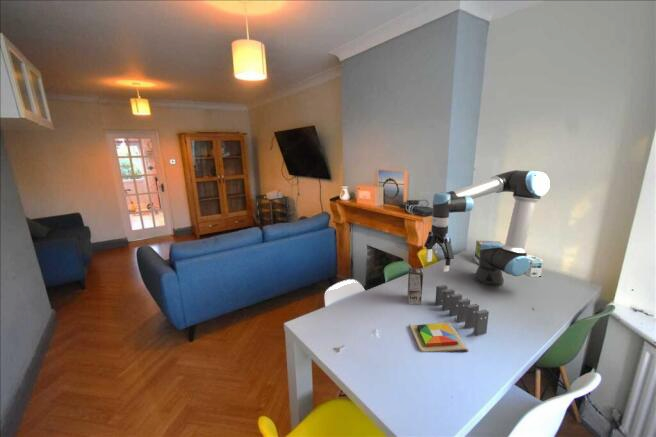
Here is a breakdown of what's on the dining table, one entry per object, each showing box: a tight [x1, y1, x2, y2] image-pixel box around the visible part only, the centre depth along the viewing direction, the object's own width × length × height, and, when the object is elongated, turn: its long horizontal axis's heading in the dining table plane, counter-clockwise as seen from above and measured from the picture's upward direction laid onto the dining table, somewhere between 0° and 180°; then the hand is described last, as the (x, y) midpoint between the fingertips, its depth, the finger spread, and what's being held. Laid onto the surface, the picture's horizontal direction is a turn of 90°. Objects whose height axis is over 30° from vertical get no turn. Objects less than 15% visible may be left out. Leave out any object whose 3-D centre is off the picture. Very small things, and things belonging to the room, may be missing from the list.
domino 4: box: [456, 298, 471, 323], centre depth 128 cm, size 2×5×10 cm, turn 107°
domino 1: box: [434, 284, 449, 307], centre depth 142 cm, size 2×5×10 cm, turn 107°
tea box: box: [473, 240, 502, 265], centre depth 193 cm, size 15×10×15 cm
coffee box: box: [407, 267, 424, 305], centre depth 146 cm, size 9×6×16 cm
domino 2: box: [441, 288, 456, 312], centre depth 137 cm, size 2×5×10 cm, turn 107°
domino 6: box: [472, 309, 490, 336], centre depth 118 cm, size 2×5×10 cm, turn 107°
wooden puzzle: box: [408, 322, 469, 353], centre depth 117 cm, size 18×19×4 cm
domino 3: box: [448, 293, 463, 317], centre depth 132 cm, size 2×5×10 cm, turn 107°
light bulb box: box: [524, 254, 544, 278], centre depth 176 cm, size 11×7×11 cm, turn 179°
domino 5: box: [464, 303, 480, 330], centre depth 123 cm, size 2×5×10 cm, turn 107°
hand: (437, 266), depth 143 cm, fingers open, 13 cm apart
